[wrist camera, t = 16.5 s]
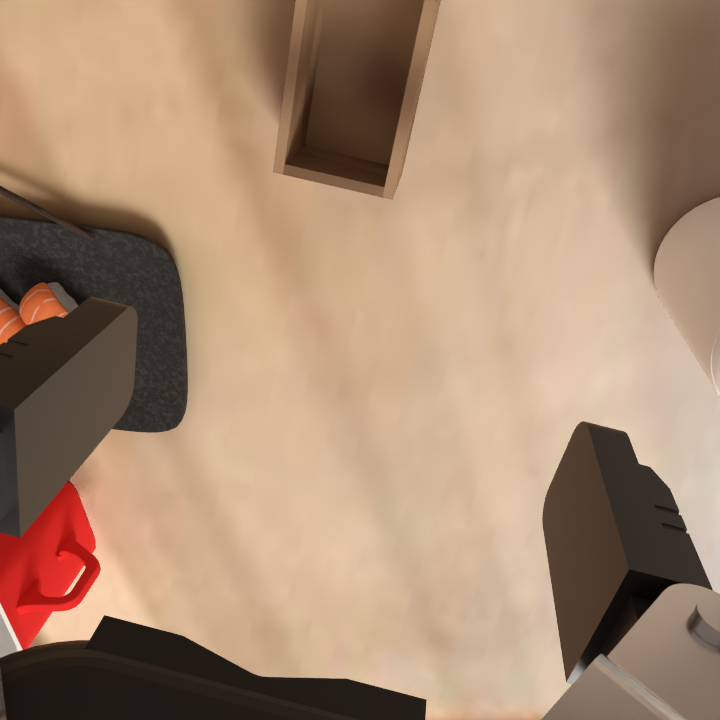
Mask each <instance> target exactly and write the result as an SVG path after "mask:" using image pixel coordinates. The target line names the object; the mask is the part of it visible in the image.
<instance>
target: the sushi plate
mask: <svg viewBox="0 0 720 720" xmlns="http://www.w3.org/2000/svg"><path fill="white" fill-rule="evenodd" d="M0 194H2V195H4V196H6V197H8V198H10V199H12V200H14V201H16V202H18V203H19V204H21V205H23V206H25V207H27V208H29V209H31V210H33V211H35V212H37V213H39V214H41V215H43V216H45V217H46V218H48V219H50V220H52V221H47V220H38V219H30V218H21V217H13V216H4V215H0V344H2V343H3V342H6V343H7V341H8V339H9V338H10V337H11V336H13V335H14V334H15V333H17V332H18V331H20V330H21V329H22V328H24V327H25V326H26V325H29V324H32V323H35V322H38V321H41V320H44V319H47V318H50V317H53V316H58V317H62V318H64V317H65V316H66V315H67V314H69V313H70V312H71V311H73V310H74V309H75V308H76V307H78V306H79V305H80V304H82V303H83V302H84V301H85V300H87V299H88V298H90V297H95V298H99V299H103V300H107V301H111V302H115V303H119V304H123V305H127V306H131V307H134V308H135V310H136V312H137V318H138V324H137V342H136V360H135V379H134V388H133V392H132V396H131V399H130V402H129V405H128V407H127V409H126V411H125V412H124V414H123V415H122V417H121V418H120V419H119V420H118V422H117V423H116V424H115V425H114V426H113V428H112V429H117V430H125V431H135V432H163V431H169V430H171V429H173V428H176V427H177V426H178V425H179V423H180V422H181V421H182V419H183V416H184V414H185V411H186V405H187V393H188V374H187V349H186V331H185V316H184V304H183V295H182V288H181V282H180V277H179V274H178V270H177V267H176V265H175V262H174V260H173V258H172V256H171V255H170V253H169V252H168V250H167V249H166V248H165V247H163V246H162V245H160V244H159V243H158V242H156V241H154V240H152V239H149V238H147V237H144V236H141V235H138V234H135V233H130V232H126V231H121V230H115V229H109V228H103V227H96V226H88V225H80V224H72V223H69V222H67V221H65V220H63V219H61V218H59V217H58V216H56V215H54V214H52V213H50V212H48V211H46V210H44V209H43V208H41V207H39V206H37V205H35V204H33V203H31V202H29V201H28V200H26V199H24V198H22V197H20V196H18V195H16V194H14V193H13V192H11V191H9V190H7V189H5V188H3V187H1V186H0Z"/></svg>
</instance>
